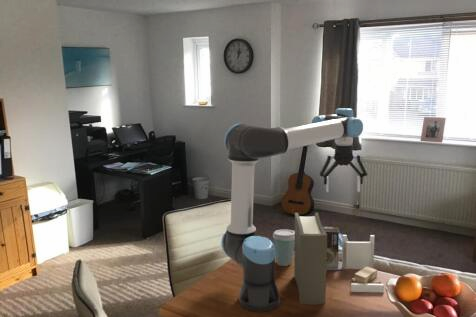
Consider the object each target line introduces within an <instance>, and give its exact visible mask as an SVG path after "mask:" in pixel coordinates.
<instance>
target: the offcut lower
mask: <svg viewBox="0 0 476 317" xmlns="http://www.w3.org/2000/svg"><path fill="white" fill-rule="evenodd" d="M351 283H360V282H357V281H355V277H352V278H351ZM368 283H371V284H382V281H381V280H380V279H379V278H378V276H377V277H375V278H374V279H372V280H371V281H370V282H368Z"/></svg>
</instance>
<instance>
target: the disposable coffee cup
mask: <svg viewBox="0 0 476 317" xmlns="http://www.w3.org/2000/svg"><path fill="white" fill-rule="evenodd" d="M272 239H273V244H274V249H275V262H276V263H277V265H278V266H282V267H288V265H289V266H290V265H292V262H293V257H294V254H295V230H291V229H283V228H282V229H277V230H275V231H274V232H273V233H272Z"/></svg>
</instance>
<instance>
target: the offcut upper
mask: <svg viewBox="0 0 476 317" xmlns="http://www.w3.org/2000/svg"><path fill="white" fill-rule="evenodd" d="M375 277H377V278H378V270H377V269H375V268H374V267H373V268H370V267H367V266H366V267H365V268H363V269H359V271H357V272H355V273H354V278H355V281H357V282H360V283H368V282H370V281H371V280H372V279H374V278H375Z"/></svg>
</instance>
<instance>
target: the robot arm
mask: <svg viewBox="0 0 476 317" xmlns="http://www.w3.org/2000/svg"><path fill="white" fill-rule="evenodd" d="M363 129H364V124H363V121H362V120H361V119H359V118H358V117H354V110H353V109H352V108H349V107H348V108H347V107H346V108H345V107H342V108H336V109H335V112H334V113H333V114H320V115H315V116H314V117H313V118H312V120H311V123H308V124H303V125H298V126H293V127H287V128H284V127H281V126H277V127H264V126H263V127H262V126H259V125H258V126H257V125H253V124H252V125H251V124H247V123H236V124H233V125H231V126H230V127H229V128H228V129H227V130H226V131H225V134H224V136H223V144H224V146H225V148H226V149H227V151H228V157H227V160H228V161H229V162H230V163H231V195H230V196H231V197H230V198H231V199H230V223H229V224H228V225H227V226H226V230H225V233H224V234H223V236H222V237H221V243H220V244H221V249H222V251H223V252H224V253H225V255H226V256H227V257H228V258H230V259H231V260H232V261H234V262H235V263H236V264H238V265H239V266H240V267H241V268H242V277H243V278H242V279H243V282H242V285H241V287H240V291H239V294H238V295H239V296H238V297H239V298H238V301H239V302H238V303H239V304H240V306H241V307H242V308H244V309H246V310H247V311H248V310H249V311H251V312H259V313H260V312H261V313H262V312H270V311H272V310H274V309H275V308H277V307H279V305H280V302H281V296H280V292H279V288H278V286H277V283H276V278H275V277H276V254H275V246H274V242H273V241H272V240H270V238H268V237H265V236H260V235H257V228H256V226H255V225H254V224H253V220H254V195H255V194H254V192H255V191H254V189H255V185H254V184H255V167H256V166H255V165H256V164H257V163H258V162H259V160H260V159H265V158H270V157H273V156H278V155H283V154H286V153H287V152H288V150H292V149H296V148H302V147H305V146H309V145H314V144H319V143H325V142H328V141H333V140H334V143H335V145H334V154H333V155H330V154H327V155H326V156H327V157H326V161H325V162H324V164H323V166H322V168H321V170H320V172H319V176H320V177H323V184H324V185H325V191H326V193H329V189H330V188H329V183H330V181H329V180H330V178H329V175H330V174H331V173H332V172H333V171H334V170H335V169H336V167H338V166H346V167H347V166H350V167H351V168H352V169H353V170H354V171H355V172H356V174H357V175H358V176H357V179H356V180H357V183H356V186H357V187H356V190H357V192H358V193H360V192H361V185H363V181H364V177H367V176H368V173H367V171H366V168H365V166H364V164H363V163H362V160H361V155H360V154H355V155H354V154H353V152H354V151H353V150H354V149H353V144H354V142H353V141H354V138H358V137H360V135H361V134H362V133H363V131H364V130H363ZM333 159H334V162H333V163H332V164H331V161H332V160H333ZM353 160H355V161H357V164H358V166H359V167H360V170H361V171H360V170H359V169H358V168H357V167H356V166H355V165H354V163H353V162H352V161H353ZM330 164H331V166H330V167H329V168H328V166H329V165H330ZM327 168H328V169H327ZM361 172H362V173H361Z"/></svg>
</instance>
